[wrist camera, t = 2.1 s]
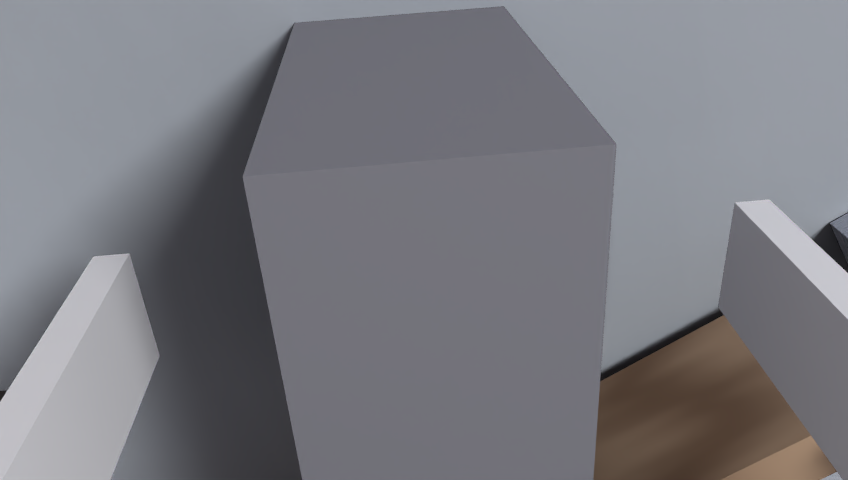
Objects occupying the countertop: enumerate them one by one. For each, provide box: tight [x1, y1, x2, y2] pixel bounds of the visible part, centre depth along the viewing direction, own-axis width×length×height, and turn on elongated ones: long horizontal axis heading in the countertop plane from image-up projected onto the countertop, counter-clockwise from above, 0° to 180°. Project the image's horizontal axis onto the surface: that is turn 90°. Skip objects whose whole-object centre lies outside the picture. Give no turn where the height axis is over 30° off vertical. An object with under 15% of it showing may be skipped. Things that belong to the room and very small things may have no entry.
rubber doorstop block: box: [243, 6, 616, 480], centre depth 16 cm, size 5×10×9 cm, turn 4°
